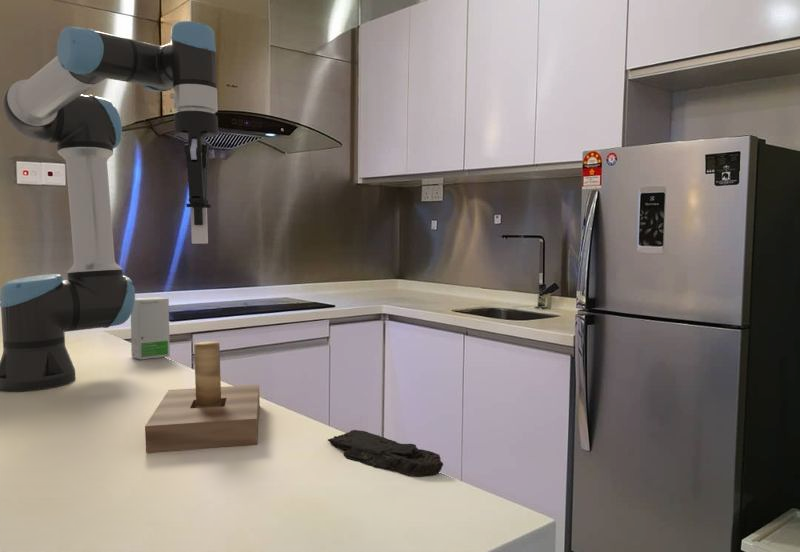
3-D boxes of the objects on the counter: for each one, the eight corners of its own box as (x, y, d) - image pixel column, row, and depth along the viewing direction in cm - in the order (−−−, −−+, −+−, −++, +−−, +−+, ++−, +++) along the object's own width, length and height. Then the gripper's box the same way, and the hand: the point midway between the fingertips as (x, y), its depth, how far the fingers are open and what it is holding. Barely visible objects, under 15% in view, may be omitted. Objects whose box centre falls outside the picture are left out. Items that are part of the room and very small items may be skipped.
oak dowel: (198, 423, 106) (195, 342, 105) (222, 422, 107) (220, 341, 106) (195, 431, 102) (192, 346, 101) (220, 429, 103) (218, 345, 102)
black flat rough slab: (312, 447, 95) (311, 428, 95) (349, 435, 100) (349, 417, 100) (415, 490, 79) (415, 467, 79) (454, 473, 84) (454, 451, 84)
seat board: (169, 411, 114) (168, 389, 114) (259, 405, 117) (259, 384, 117) (145, 452, 92) (144, 426, 92) (257, 444, 96) (256, 418, 95)
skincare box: (139, 360, 161) (136, 300, 160) (130, 357, 166) (128, 298, 165) (171, 356, 166) (169, 297, 165) (162, 352, 171) (160, 296, 170)
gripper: (179, 118, 119) (183, 243, 121) (168, 105, 106) (173, 244, 108) (220, 119, 120) (223, 242, 122) (214, 106, 108) (218, 243, 109)
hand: (199, 243), depth 115 cm, fingers closed
